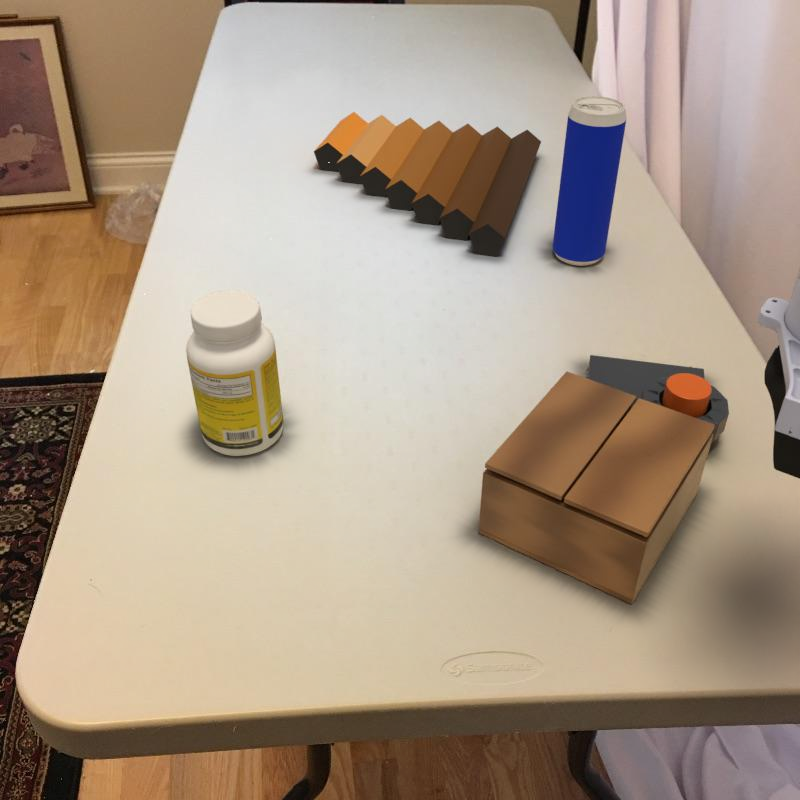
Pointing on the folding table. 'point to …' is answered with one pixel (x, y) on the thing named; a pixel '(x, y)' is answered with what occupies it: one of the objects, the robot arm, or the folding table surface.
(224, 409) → the pill bottle
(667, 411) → the flap
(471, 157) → the pan flute
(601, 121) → the beverage can
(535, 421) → the carton
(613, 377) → the control box
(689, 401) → the button
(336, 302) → the folding table surface
